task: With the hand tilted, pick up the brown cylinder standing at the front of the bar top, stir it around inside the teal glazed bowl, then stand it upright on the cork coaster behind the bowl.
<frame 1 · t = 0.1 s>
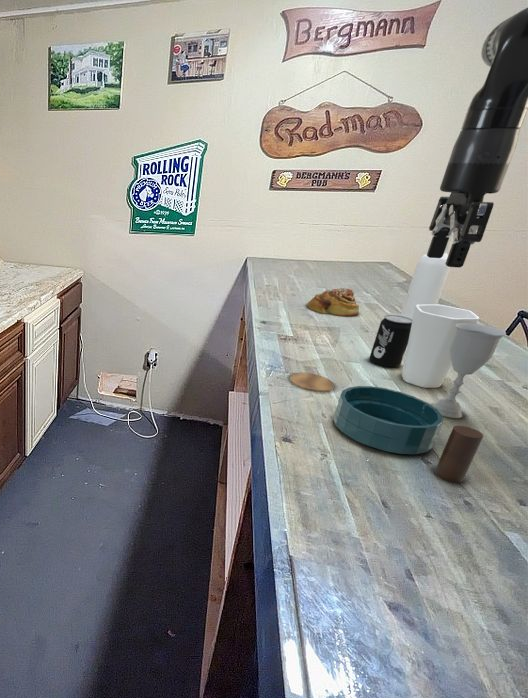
hand: (443, 262, 80), 31 cm above the bar counter, tool pointing down, fingers open, 8 cm apart
pastry: (331, 310, 156), on the bar counter
brown cylinder: (448, 475, 74), on the bar counter
coaster: (311, 382, 105), on the bar counter
cup: (419, 382, 106), on the bar counter
bottle: (411, 328, 141), on the bar counter
bowl: (379, 432, 86), on the bar counter
beverage can: (383, 364, 116), on the bar counter
chalice: (445, 412, 93), on the bar counter
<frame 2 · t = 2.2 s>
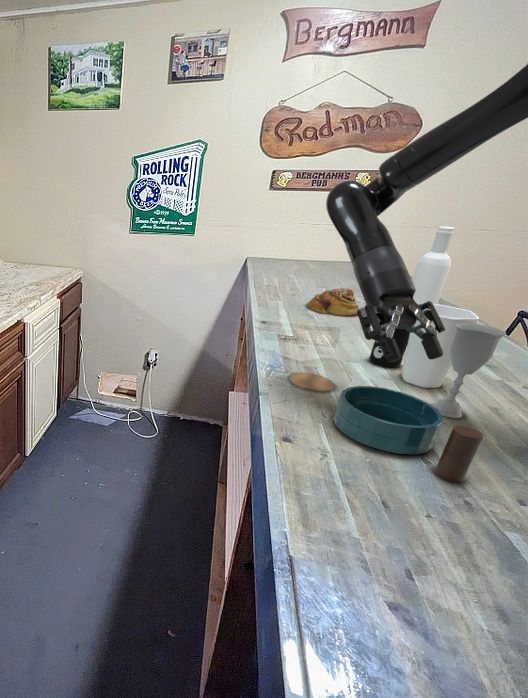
hand: (416, 359, 79), 16 cm above the bar counter, tool tilted 45°, fingers open, 8 cm apart
nothing on the bar counter moved.
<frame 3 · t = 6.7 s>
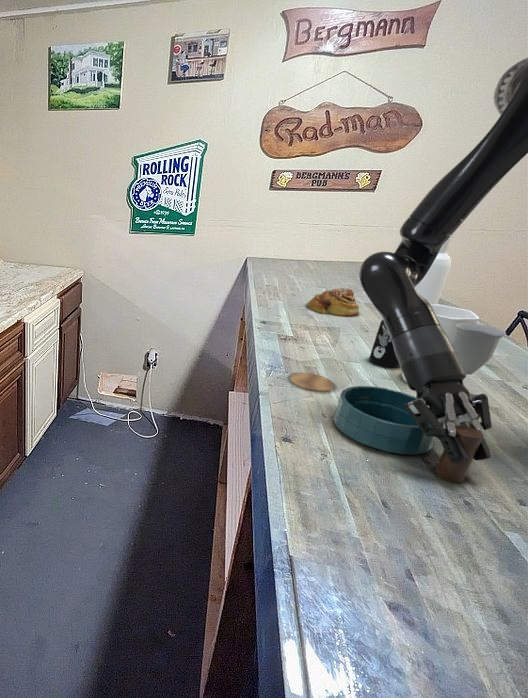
hand: (471, 460, 71), 5 cm above the bar counter, tool tilted 45°, fingers closed on brown cylinder, 3 cm apart
brown cylinder: (448, 475, 74), on the bar counter, touching gripper
everything else where it was.
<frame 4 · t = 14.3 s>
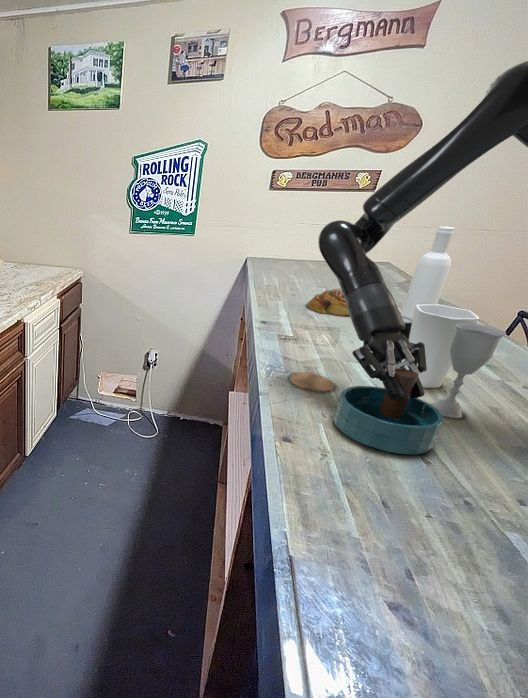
hand: (408, 397, 82), 8 cm above the bar counter, tool tilted 45°, fingers closed on brown cylinder, 3 cm apart
brown cylinder: (390, 413, 86), point 4 cm above the bar counter, touching gripper
everything else where it was.
when the fingers open (5 cm above the bar counter, at t = 21.9 s): brown cylinder stays where it is, resting on coaster.
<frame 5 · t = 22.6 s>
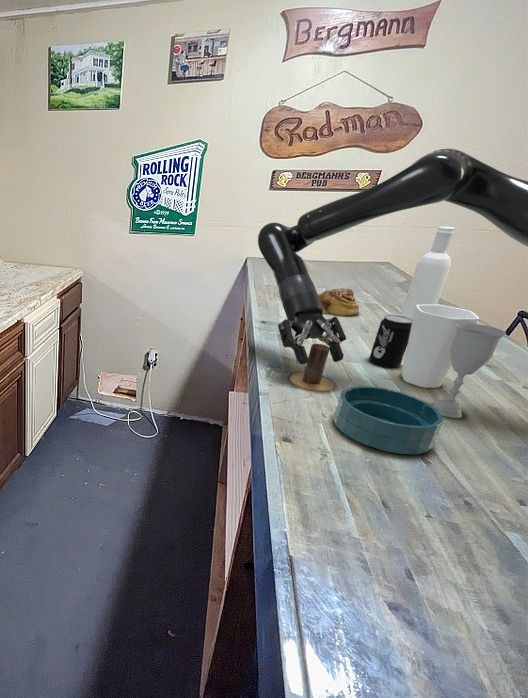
hand: (321, 362, 102), 6 cm above the bar counter, tool tilted 45°, fingers open, 8 cm apart
brown cylinder: (311, 380, 105), resting on coaster
everything else where it was.
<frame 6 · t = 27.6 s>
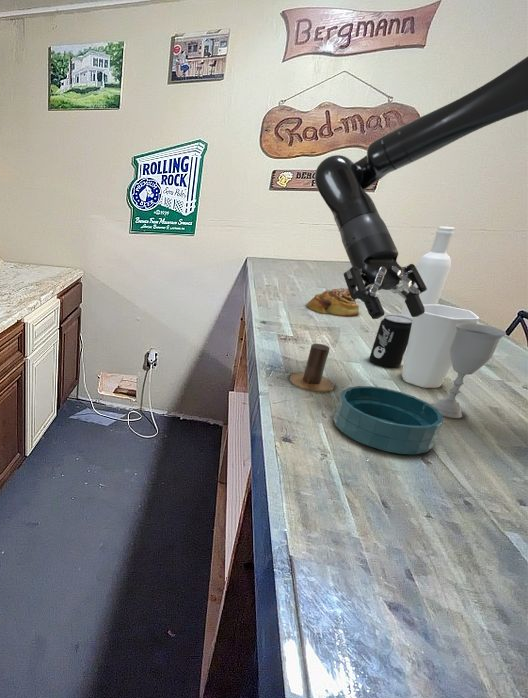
hand: (399, 316, 85), 21 cm above the bar counter, tool tilted 45°, fingers open, 8 cm apart
nothing on the bar counter moved.
at the end: brown cylinder 0.1 cm off-centre on the coaster, point 0.5 cm above the coaster's base; brown cylinder tilted 0°; the gripper is holding nothing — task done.
